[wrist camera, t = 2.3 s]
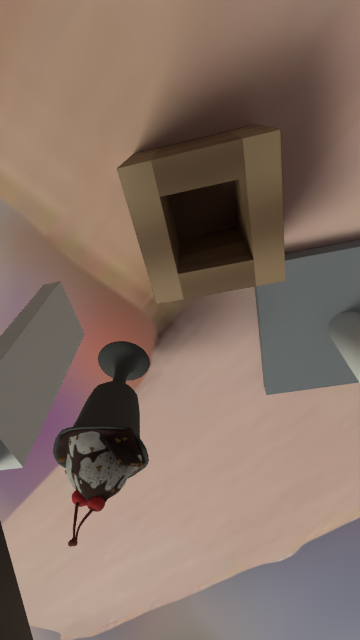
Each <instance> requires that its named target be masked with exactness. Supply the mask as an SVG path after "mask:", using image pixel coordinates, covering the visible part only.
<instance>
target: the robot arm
mask: <svg viewBox="0 0 360 640" xmlns="http://www.w3.org/2000/svg"><path fill="white" fill-rule="evenodd" d="M83 337H84V332H83V329H82V327H81V325H80V323H79V321H78V319H77V316H76V314H75V312H74V310H73V308H72V305H71V303H70V301H69V299H68V297H67V295H66V292H65V291H64V288H63V286H62V284H61V282H55V283H50V284H45V285H43V286H42V287H41V288H40V290H39V291H38V292H37V293H36V295H35V296H34V297H33V298H32V299H31V300H30V302H29V303H28V304H27V305H26V306H25V308H24V309H23V310H22V311H21V312H20V313H19V315H18V316H17V317H16V318H15V319H14V321H13V322H12V323H11V324H10V325H9V327H8V328H7V329H6V330H5V331H4V333H3V334H2V335H1V336H0V470H6V469H14V468H23V467H24V465H25V462H26V460H27V458H28V456H29V453H30V451H31V449H32V447H33V445H34V443H35V441H36V439H37V436H38V434H39V432H40V430H41V428H42V426H43V423H44V421H45V419H46V417H47V415H48V412H49V410H50V408H51V406H52V404H53V402H54V400H55V397H56V395H57V393H58V391H59V389H60V386H61V384H62V382H63V380H64V378H65V376H66V374H67V371H68V369H69V367H70V365H71V363H72V360H73V358H74V356H75V354H76V352H77V350H78V347H79V345H80V343H81V341H82V338H83ZM0 640H33V638H32V634H31V630H30V627H29V623H28V619H27V616H26V612H25V609H24V605H23V601H22V598H21V594H20V591H19V587H18V583H17V580H16V576H15V573H14V569H13V565H12V562H11V558H10V555H9V551H8V547H7V544H6V540H5V536H4V533H3V529H2V526H1V522H0Z"/></svg>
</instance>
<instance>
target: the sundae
mask: <svg viewBox="0 0 360 640" xmlns="http://www.w3.org/2000/svg"><path fill="white" fill-rule="evenodd" d="M98 362H99V365H100V367H101V369H102V370H103V371H104V372H105V374H107V375H108V376H110V377H112V378H113V381H111V382H107V383H103V384H100V385H98V386H97V387H96V388H95V389H94V390H93V392H92V393H91V395H90V396H89V398H88V399H87V401H86V403H85V405H84V407H83V409H82V411H81V413H80V415H79V417H78V419H77V421H76V422H75V424H74V426H73V427H71V428H66V429H64V430H62V431H61V432H60V433H59V434H58V436H57V438H56V439H55V443H54V448H53V454H54V457H55V459H56V461H57V462H58V463H59V464H60V465H61V466H63V467H65V468H66V471H65V473H66V474H67V477H68V480H69V482H70V483H71V485H72V486H73V487H74V488H75V489H76V491H75V492H74V493H73V494H72V501H73V503H74V504H75V505H76V506H75V514H74V524H73V538H72V540H70V541H69V542H68V545H69V546H76V545H77V536H78V531H79V528H80V526H81V525H82V523H83V522H84V520H85V519H86V518H87V517H88V516H89V515H90V514H91V512H92V511H101V510H102V509H103V507H104V505H105V502H106V501H107V499H109V498H110V497H112V496H114V495H115V494H117V493H118V492H119V491H120V490H121V488H122V487H123V486H124V484H125V482H126V480H127V479H128V478H130V477H132V476H133V475H135V474H136V473H138V472H139V471H141V470H142V469H143V468H145V467H146V466H147V464H148V461H149V459H148V453H147V450H146V448H145V446H144V444H143V442H142V441H141V439H140V413H139V404H138V397H137V394H136V393H135V391H134V390H133V389H132V388H131V387H130V386H128V385H127V384H125V383H126V380H134V379H137V378H140V377H142V376H143V375H144V374H145V373H146V372H147V370H148V368H149V365H150V363H149V357H148V355H147V354H146V352H145V351H144V350H143V349H142V348H140V347H139V346H137V345H136V344H133V343H129V342H124V341H119V342H113V343H110V344H108V345H106V346H105V347H104V348H102V350H101V351H100V353H99V356H98ZM86 505H87V506H88V508H89V509H90V511H89V512H88V513H87V514H86V516H85V517H84V518H83V520H82V521H81V523H80V525H79V526H78V529H77V532H76V537H75V526H76V520H77V512H78V506H79V507H82V506H86Z"/></svg>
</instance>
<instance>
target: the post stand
mask: <svg viewBox="0 0 360 640" xmlns="http://www.w3.org/2000/svg"><path fill="white" fill-rule="evenodd" d="M255 294H256V304H257V315H258V326H259V337H260V347H261V358H262V369H263V379H264V387H265V391H266V394H267V395H270V394H278V393H285V392H292V391H300V390H307V389H314V388H322V387H329V386H336V385H343V384H351V383H358V382H359V383H360V240H355V241H349V242H344V243H339V244H334V245H328V246H323V247H318V248H313V249H307V250H302V251H297V252H291V253H286V254H285V281H282V282H277V283H271V284H265V285H260V286H255Z"/></svg>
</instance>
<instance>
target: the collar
mask: <svg viewBox="0 0 360 640" xmlns="http://www.w3.org/2000/svg"><path fill="white" fill-rule="evenodd" d="M117 171H118V174H119V178H120V181H121V184H122V188H123V191H124V195H125V198H126V201H127V205H128V208H129V212H130V215H131V218H132V222H133V225H134V229H135V232H136V235H137V239H138V242H139V246H140V249H141V252H142V256H143V259H144V263H145V266H146V269H147V273H148V276H149V280H150V283H151V286H152V290H153V293H154V296H155V300H156V303H157V304H160V303H165V302H171V301H176V300H182V299H188V298H193V297H199V296H204V295H210V294H215V293H221V292H227V291H232V290H238V289H243V288H249V287H254V286H260V285H265V284H271V283H277V282H282V281H285V254H284V224H283V195H282V165H281V135H280V129H275V128H270V127H266V126H261V125H252V126H247V127H243V128H239V129H235V130H231V131H227V132H223V133H219V134H215V135H210V136H206V137H202V138H198V139H194V140H190V141H186V142H182V143H177V144H173V145H169V146H165V147H161V148H157V149H153V150H149V151H144V152H140V153H136V154H133V155H132V156H130V157H129V158H128V159H127V160H126V161H125V162H124V163H123V164H121V165H120V166H119V167H118V168H117ZM229 181H234V188H235V197H236V206H237V215H238V224H239V228H234V229H230V230H225V231H220V232H215V233H210V234H205V235H200V236H195V237H190V238H185V239H181V240H179V237H178V232H177V228H176V223H175V219H174V214H173V210H172V205H171V201H170V196H169V195H171V194H175V193H180V192H184V191H189V190H193V189H198V188H202V187H207V186H211V185H216V184H220V183H225V182H229Z"/></svg>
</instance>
